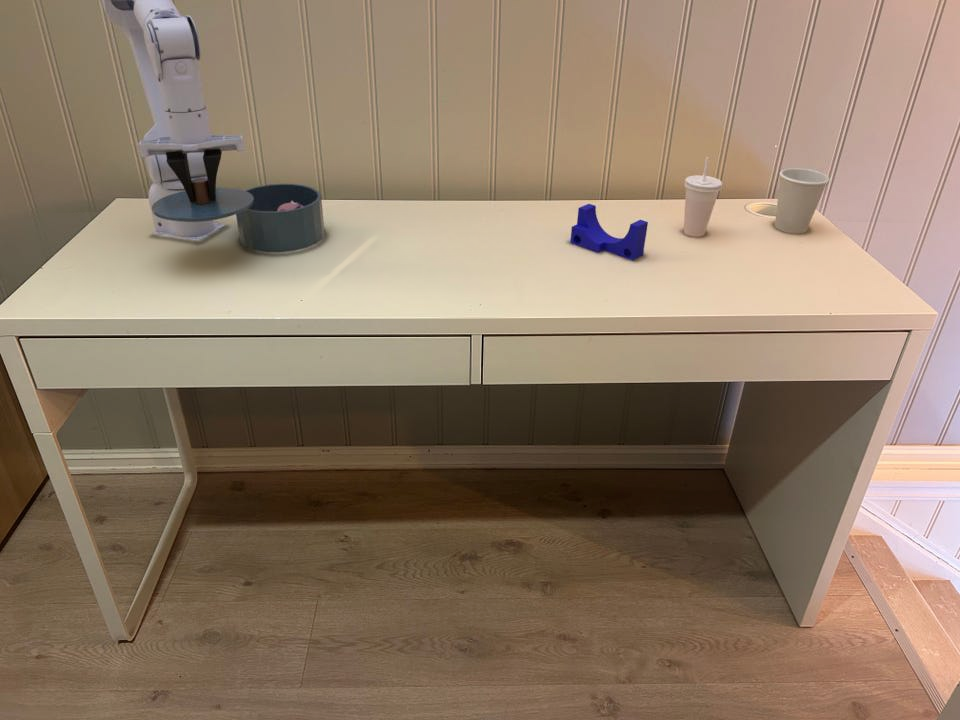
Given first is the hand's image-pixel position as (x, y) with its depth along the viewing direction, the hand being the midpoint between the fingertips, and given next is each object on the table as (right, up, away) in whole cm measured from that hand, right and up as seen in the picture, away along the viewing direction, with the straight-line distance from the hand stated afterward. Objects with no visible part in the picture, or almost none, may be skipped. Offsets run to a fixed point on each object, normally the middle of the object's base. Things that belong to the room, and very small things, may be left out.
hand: (203, 199), depth 113 cm
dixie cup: (+101, 0, +23) cm, 103 cm away
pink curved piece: (+9, -3, +14) cm, 17 cm away
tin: (+9, -4, +14) cm, 17 cm away
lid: (0, -1, 0) cm, 1 cm away
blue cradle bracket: (+65, -6, +13) cm, 66 cm away
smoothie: (+82, -2, +20) cm, 84 cm away
